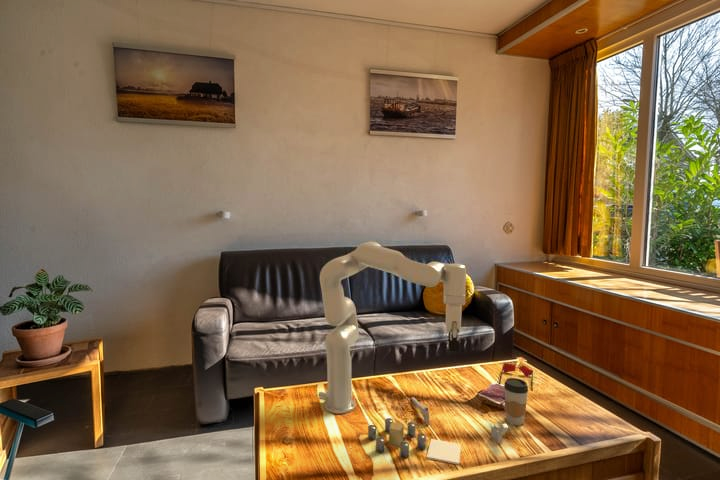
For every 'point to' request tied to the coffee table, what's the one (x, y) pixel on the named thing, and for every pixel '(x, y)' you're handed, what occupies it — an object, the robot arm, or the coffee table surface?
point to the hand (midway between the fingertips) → (453, 346)
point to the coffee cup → (515, 400)
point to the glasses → (523, 369)
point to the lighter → (498, 432)
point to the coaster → (444, 451)
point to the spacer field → (403, 445)
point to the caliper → (422, 410)
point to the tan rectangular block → (396, 434)
